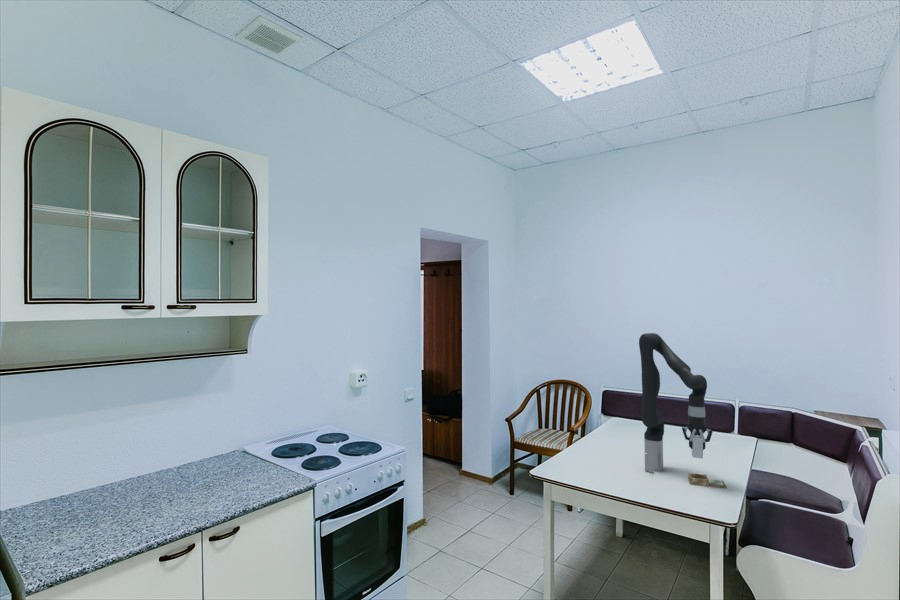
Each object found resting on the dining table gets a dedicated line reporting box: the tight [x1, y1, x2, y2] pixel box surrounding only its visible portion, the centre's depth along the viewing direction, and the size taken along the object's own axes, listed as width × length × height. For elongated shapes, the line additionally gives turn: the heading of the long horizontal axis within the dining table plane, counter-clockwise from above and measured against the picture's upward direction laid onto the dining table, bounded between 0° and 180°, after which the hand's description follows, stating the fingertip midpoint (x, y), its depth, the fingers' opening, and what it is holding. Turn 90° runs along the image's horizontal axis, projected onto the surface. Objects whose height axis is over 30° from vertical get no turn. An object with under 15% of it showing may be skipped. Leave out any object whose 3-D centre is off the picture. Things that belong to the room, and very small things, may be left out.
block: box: [691, 435, 704, 459], centre depth 224 cm, size 4×4×10 cm
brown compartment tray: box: [687, 472, 728, 490], centre depth 224 cm, size 16×11×4 cm
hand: (697, 448), depth 224 cm, fingers closed on block, 4 cm apart
